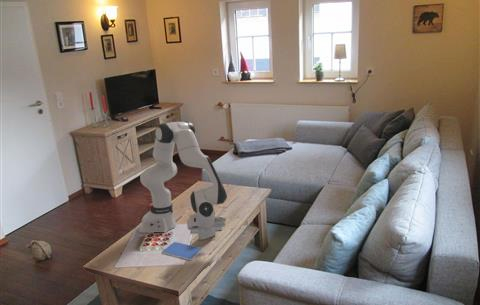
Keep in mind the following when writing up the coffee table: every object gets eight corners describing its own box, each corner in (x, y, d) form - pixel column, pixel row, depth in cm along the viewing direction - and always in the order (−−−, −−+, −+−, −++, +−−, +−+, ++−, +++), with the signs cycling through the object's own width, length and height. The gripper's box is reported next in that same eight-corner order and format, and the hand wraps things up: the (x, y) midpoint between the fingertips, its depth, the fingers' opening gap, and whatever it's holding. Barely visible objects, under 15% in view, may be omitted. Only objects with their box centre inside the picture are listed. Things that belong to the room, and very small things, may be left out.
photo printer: (213, 232, 231) (211, 213, 228) (216, 235, 228) (215, 216, 224) (197, 238, 226) (195, 218, 222) (200, 241, 222) (199, 221, 219)
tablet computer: (160, 254, 212) (160, 251, 212) (174, 243, 223) (174, 240, 222) (190, 262, 203) (190, 259, 203) (203, 250, 214) (203, 248, 214)
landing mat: (191, 233, 231) (191, 232, 231) (190, 222, 245) (190, 222, 245) (221, 230, 234) (221, 229, 233) (220, 219, 247) (219, 219, 247)
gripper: (225, 212, 207) (224, 220, 219) (186, 215, 205) (187, 223, 217) (227, 223, 204) (226, 231, 216) (186, 227, 202) (188, 235, 214)
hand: (206, 227), depth 216 cm, fingers closed
